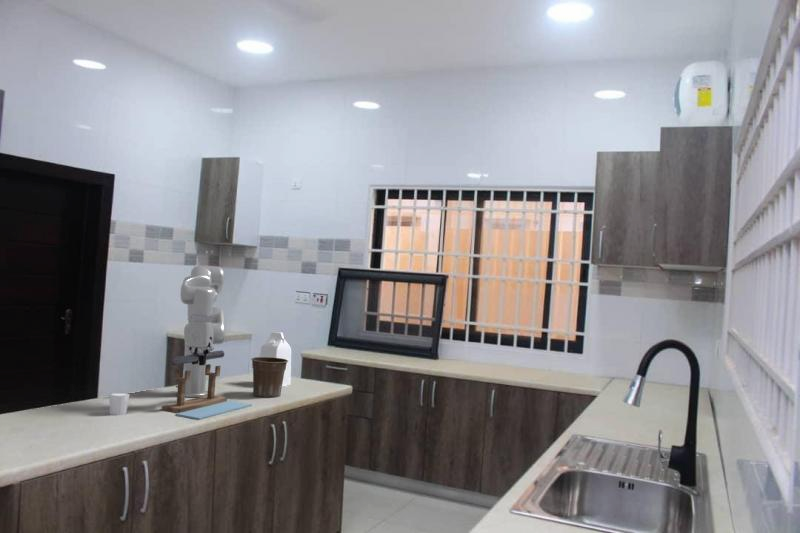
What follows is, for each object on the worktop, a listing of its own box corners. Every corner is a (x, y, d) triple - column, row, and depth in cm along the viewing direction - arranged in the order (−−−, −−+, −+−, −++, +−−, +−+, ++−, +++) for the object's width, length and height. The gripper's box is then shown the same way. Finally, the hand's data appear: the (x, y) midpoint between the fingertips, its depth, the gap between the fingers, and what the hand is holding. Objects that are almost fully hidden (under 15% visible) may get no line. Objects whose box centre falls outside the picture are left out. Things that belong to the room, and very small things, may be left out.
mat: (175, 415, 235) (175, 413, 235) (229, 402, 264) (229, 400, 264) (199, 419, 231) (199, 418, 231) (251, 405, 260) (251, 404, 260)
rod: (177, 365, 241) (177, 357, 241) (171, 364, 242) (171, 356, 242) (224, 357, 267) (224, 350, 267) (218, 356, 268) (218, 349, 268)
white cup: (106, 415, 228) (107, 395, 228) (109, 411, 235) (111, 392, 235) (126, 415, 230) (128, 396, 230) (129, 411, 237) (130, 392, 237)
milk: (290, 385, 312) (294, 333, 313) (274, 388, 302) (278, 334, 303) (272, 382, 318) (276, 330, 319) (256, 384, 309) (260, 331, 309)
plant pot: (289, 393, 292) (292, 358, 292) (279, 400, 276) (282, 363, 276) (255, 390, 293) (258, 355, 294) (243, 396, 277) (246, 360, 278)
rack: (161, 409, 243) (164, 370, 243) (209, 398, 268) (212, 362, 269) (180, 413, 239) (183, 372, 239) (226, 401, 265) (229, 365, 265)
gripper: (179, 317, 254) (176, 363, 254) (212, 321, 248) (208, 368, 248) (192, 316, 261) (188, 360, 261) (224, 320, 255) (221, 366, 255)
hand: (198, 364), depth 254 cm, fingers closed on rod, 3 cm apart
